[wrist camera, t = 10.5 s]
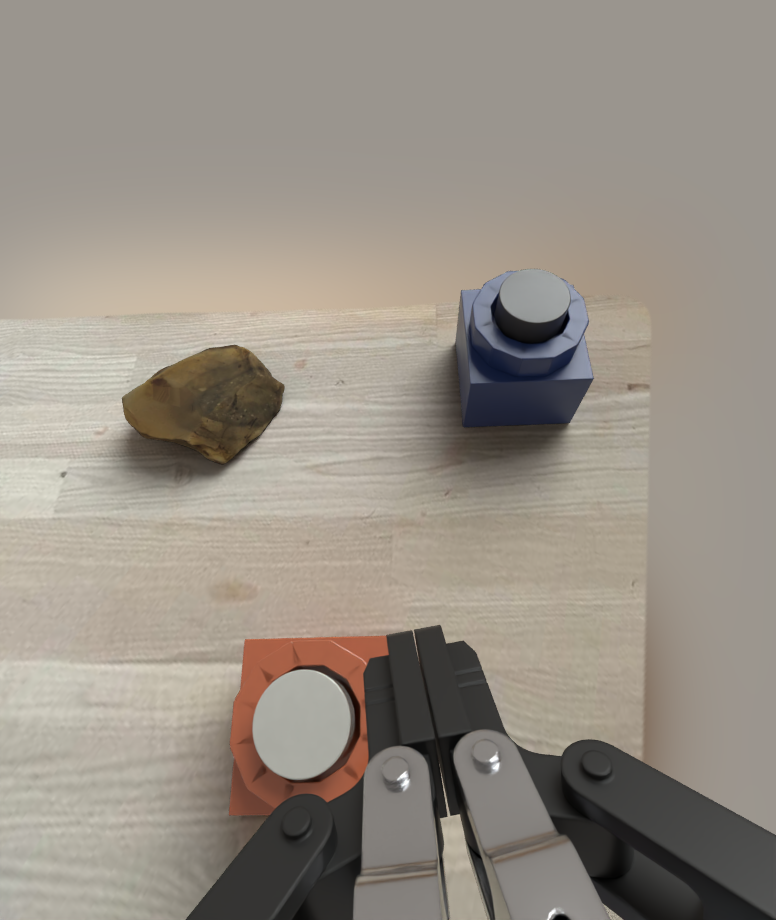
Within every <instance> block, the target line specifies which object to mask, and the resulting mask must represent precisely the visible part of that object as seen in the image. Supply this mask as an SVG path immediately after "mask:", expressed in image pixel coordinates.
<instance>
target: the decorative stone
mask: <svg viewBox="0 0 776 920" xmlns="http://www.w3.org/2000/svg"><path fill="white" fill-rule="evenodd" d="M283 392H284V384H282V383H280V382H279V381H277V380H276V379H274V378H273V377H272V375H271V373H270V372H269V371H268V369H267V368H266V367H265V366H264V365H263V363H262V362H261V361H260V360H259V359H258V358H257V357H256V356H255V355H254V354H253V353H252V352H251V351H249V350H247V349H246V348H243V347H239V346H237V345H230V346H224V347H215V348H209V349H206V350H204V351H202V352H200V353H198V354H195V355H193V356H190V357H188V358H186V359H184V360H182V361H180V362H178V363H176V364H173V365H171V366H168V367H165V368H163V369H161V370H160V371H158V372H157V373H155V374H154V375H153V376H152V377H151V378H150V379H149V380H147V381H146V382H145V383H144V384H142V385H140V386H138V387H137V388H135V389H134V390H132V391H131V392H129V393H128V394H126V395H125V396H123V397H122V403H123V408H124V415H125V418H126V420H127V421H128V423H129V424H130V425H131V426H132V427H134V428H135V429H136V430H137V431H138V432H139V433H140V434H141V435H142V436H143V437H145V438H147V439H155V440H163V441H169V442H174V443H177V444H181V445H183V446H186V447H189V448H192V449H194V450H196V451H198V452H200V453H201V454H202V455H203V456H205V457H206V458H208V459H209V460H211V461H213V462H216V463H219V464H225V463H227V462H228V461H229V460H230V459H232V458H233V457H234V456H235V455H236V454H237V453H238V452H239V451H240V450H241V449H242V448H243V447H245V446H246V445H247V444H248V443H249V442H250V441H251V440H253V439H255V438H257V437H258V436H259V435H260V434H261V433H262V431H263V430H264V429H265V428H266V426H267V425H268V424H269V422H271V420H272V418H273V417H274V416H275V415H276V414H277V413H278V411H279V409H280V406H281V403H282V393H283Z"/></svg>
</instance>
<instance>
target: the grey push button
mask: <svg viewBox="0 0 776 920" xmlns="http://www.w3.org/2000/svg"><path fill="white" fill-rule="evenodd" d="M570 302H571V296H570V291H569V289H568V287H567V285H566V284H565V282H564V281H563V280H562V279H560V278H559V277H558V276H556V275H554V274H553V273H551V272H548V271H545V270H540V269H525V270H520V271H517V272H515V273H513V274H511V275H510V276H508V277H507V278H506V279H505V280H504V282H503V283H502V285H501V287H500V290H499V295H498V300H497V305H496V310H495V320H496V323H497V326H498V327H499V329H500V330H501V331H502V332H503V333H504V334H505V335H506V336H507V337H509V338H511V339H513V340H516V341H518V342H521V343H527V344H535V343H541V342H544V341H547V340H549V339H551V338H552V337H554V336H555V335H556V334H557V333H558V332H559V330H560V329H561V326H562V324H563V321H564V319H565V316H566V313H567V311H568V308H569V306H570Z"/></svg>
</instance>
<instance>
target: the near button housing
mask: <svg viewBox="0 0 776 920" xmlns="http://www.w3.org/2000/svg"><path fill="white" fill-rule="evenodd" d="M515 272H517V271H509V272H506V273H504V274H502V275H500V276H498V277H496V278H494V279H492V280H490V281H488V282H486V283H485V284H484V285H483V287H482V289H478V290H461V296H460V305H459V314H458V324H457V333H456V353H457V364H458V376H459V387H460V398H461V409H462V421H463V427H484V426H509V425H534V424H560V423H570V421H571V419H572V418H573V416H574V414H575V412H576V410H577V408H578V407H579V405H580V403H581V401H582V399H583V397H584V396H585V394H586V392H587V390H588V388H589V386H590V384H591V383H592V381H593V379H594V378H593V373H592V369H591V364H590V360H589V355H588V350H587V346H586V341H585V337H584V332H585V330H586V328H587V326H588V324H589V319H588V315H587V311H586V306H585V302H584V298H583V297H582V296H581V295H580V294H579V293H578V292H577V291H576V290H575V289H574V287H573V285H570V284H568V282H567V281H566V280H564V279H562V280H563V281H564V282H565V284H566V285H567V287H568V289H569V291H570V296H571V302H570V306H569V308H568V311H567V313H566V316H565V319H564V321H563V324H562V326H561V329H560V330H559V332H558V333H557V334H556V335H555V336H554V337H552V338H551V339H549V340H547V341H544V342H541V343H535V344H527V343H521V342H518V341H516V340H513V339H511V338H509V337H507V336H506V335H505V334H504V333H503V332H502V331H501V330H500V329H499V327H498V326H497V323H496V320H495V310H496V305H497V300H498V295H499V290H500V287H501V285H502V283H503V282H504V280H505V279H506V278H507V277H508V276H510V275H511V274H513V273H515ZM560 279H561V278H560Z"/></svg>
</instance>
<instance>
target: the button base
mask: <svg viewBox="0 0 776 920" xmlns="http://www.w3.org/2000/svg"><path fill="white" fill-rule="evenodd" d="M385 655H389V653H388V646H387V639H386V636H358V637H318V638H278V639H245V643H244V654H243V665H242V676H241V686H240V691H239V693H238V694H237V696H236V698H235V701H234V704H233V715H232V725H231V736H230V749H231V751H232V754H233V756H234V763H233V774H232V785H231V796H230V807H229V815H230V816H238V815H270V814H271V813H272V812H273V811H274V810H275V808H276V807H277V806H278V805H280V804H281V803H282V802H283V801H285V800H287V799H288V798H290V797H292V796H295V795H298V794H305V793H307V794H315V795H318V796H320V797H321V798H323V799H324V800H325V801H326V802H329V801H331V800H332V799H334V798H336V797H338V796H340V795H342V794H344V793H345V792H347V791H348V790H350V789H351V788H352V787H353V786H355V784H356V783H357V782H358V781H359V780H360V779H361V777H362V776H363V774H364V772H365V769H366V767H367V764H368V741H367V726H366V711H365V696H364V693H365V692H364V681H363V673H364V670H365V668H366V666H367V664H368V661H369V659H370V658H374V657H380V656H385ZM303 669H306V670H314V671H318V672H321V673H324V674H327V675H329V676H331V677H333V678H334V679H336V680H337V681H338V682H339V683H340V684H342V685H343V687H344V688H345V689H346V691H347V692H348V694H349V696H350V698H351V700H352V703H353V707H354V712H355V729H354V734H353V737H352V741H351V743H350V745H349V747H348V749H347V751H346V752H345V754H344V755H343V756H342V758H341V759H340V760H339V761H338V762H337V763H336V764H334V765H333V766H332V767H330V768H329V769H328V770H326V771H325V772H323V773H322V774H320V775H318V776H316V777H313V778H310V779H306V780H291V779H287V778H284V777H281V776H279V775H277V774H275V773H274V772H272V771H271V770H270V769H269V768H268V767H267V766H266V765H265V764H264V763H263V761H262V760H261V758H260V757H259V755H258V753H257V750H256V748H255V745H254V740H253V733H252V723H253V716H254V712H255V709H256V706H257V703H258V701H259V699H260V697H261V696H262V694H263V693H264V691H265V690H266V689H267V688H268V686H269V685H270V684H271V683H272V682H274V681H275V680H276V679H278V678H279V677H280V676H282V675H284V674H286V673H289V672H291V671H296V670H303Z"/></svg>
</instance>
